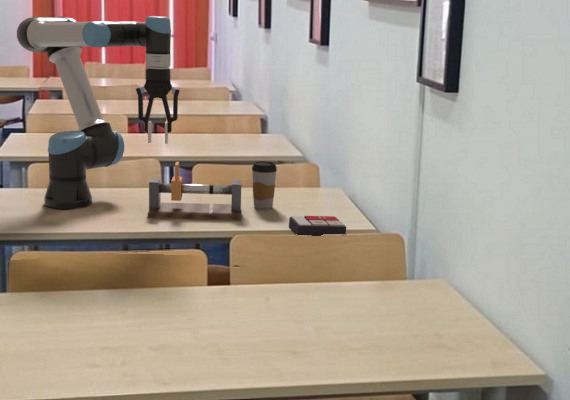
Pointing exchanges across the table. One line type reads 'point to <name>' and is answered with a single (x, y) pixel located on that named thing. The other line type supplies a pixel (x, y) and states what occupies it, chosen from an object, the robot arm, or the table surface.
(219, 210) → the base board
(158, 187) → the pipe
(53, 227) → the table surface
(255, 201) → the coffee cup
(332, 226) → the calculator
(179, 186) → the orange slotted block
